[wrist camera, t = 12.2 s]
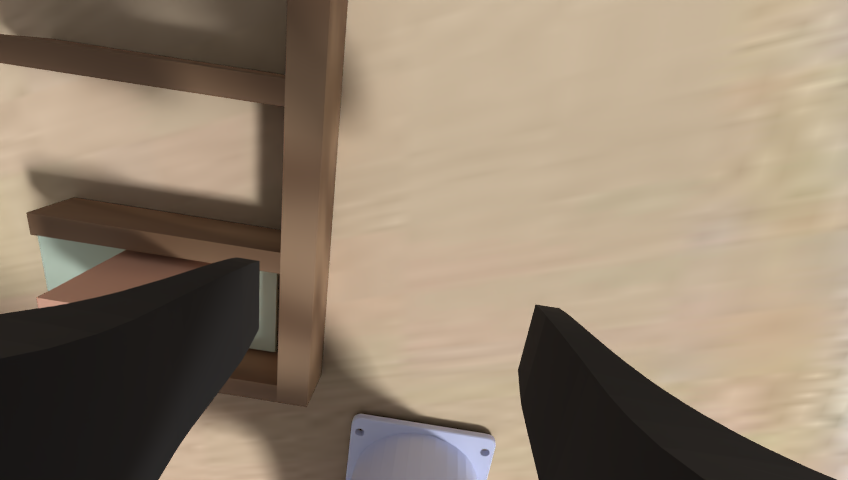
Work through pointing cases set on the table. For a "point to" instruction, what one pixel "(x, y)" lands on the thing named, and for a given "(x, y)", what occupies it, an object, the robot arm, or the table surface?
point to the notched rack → (214, 239)
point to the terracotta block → (117, 276)
